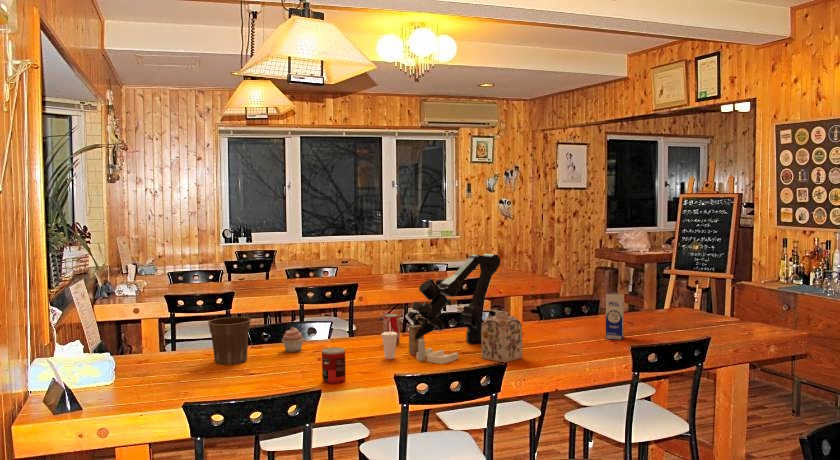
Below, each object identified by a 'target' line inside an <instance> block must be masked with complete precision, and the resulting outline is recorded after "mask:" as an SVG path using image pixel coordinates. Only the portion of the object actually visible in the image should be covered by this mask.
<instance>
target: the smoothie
mask: <svg viewBox="0 0 840 460" xmlns="http://www.w3.org/2000/svg"><path fill="white" fill-rule="evenodd" d="M380 336H381V337H382V344H383V354H384V358H385V359H386V360H393V359H395V357H396V349H397V348H396V347H397V343H396V339H397V336H398V335H397V333H396V332H391V323H390V322H389V332H384V333H383V332H382V333H381V334H380Z"/></svg>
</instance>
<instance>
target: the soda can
mask: <svg viewBox="0 0 840 460" xmlns="http://www.w3.org/2000/svg"><path fill="white" fill-rule="evenodd" d="M382 320H383V321H382V331H383V332H382V333H384V332H389V322H390V323H391V332H396V333H397V335H398V336H397V339H396V344H397V343H399V342H400V340H401V339H400V335H401V332H400V318H399V315H398V314H397V313H387V314H384V316H383V319H382Z"/></svg>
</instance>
